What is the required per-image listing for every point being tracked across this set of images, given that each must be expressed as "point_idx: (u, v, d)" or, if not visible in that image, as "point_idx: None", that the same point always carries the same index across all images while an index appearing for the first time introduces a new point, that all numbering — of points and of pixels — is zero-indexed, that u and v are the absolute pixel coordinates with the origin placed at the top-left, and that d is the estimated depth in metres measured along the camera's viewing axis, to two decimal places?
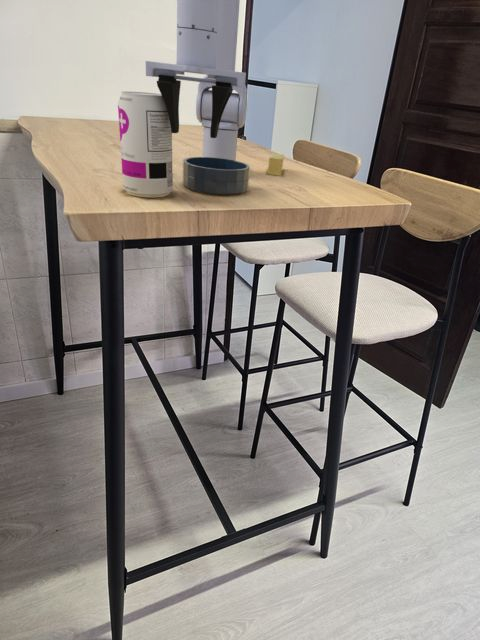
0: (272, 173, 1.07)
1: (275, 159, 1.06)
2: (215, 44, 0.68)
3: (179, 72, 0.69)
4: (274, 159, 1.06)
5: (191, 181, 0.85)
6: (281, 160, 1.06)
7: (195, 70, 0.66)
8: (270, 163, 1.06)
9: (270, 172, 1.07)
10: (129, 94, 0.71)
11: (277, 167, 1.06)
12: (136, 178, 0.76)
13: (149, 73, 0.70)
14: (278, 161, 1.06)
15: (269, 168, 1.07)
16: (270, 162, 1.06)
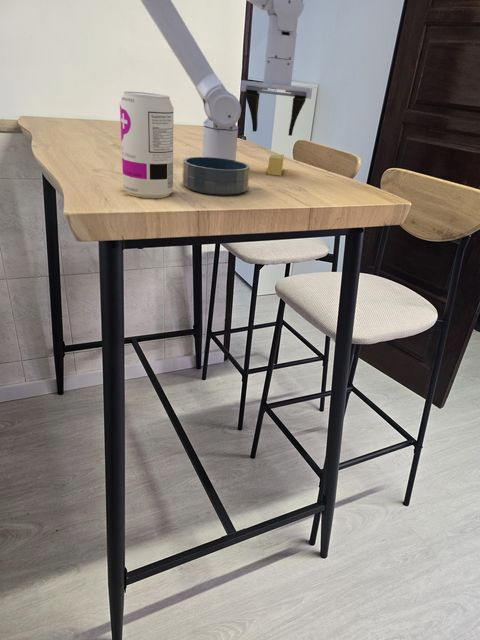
0: (272, 173, 1.07)
1: (275, 159, 1.06)
2: (292, 68, 0.95)
3: (265, 88, 0.97)
4: (274, 159, 1.06)
5: (191, 181, 0.85)
6: (281, 160, 1.06)
7: (278, 87, 0.94)
8: (270, 163, 1.06)
9: (270, 172, 1.07)
10: (131, 95, 0.71)
11: (277, 167, 1.06)
12: (136, 179, 0.76)
13: (243, 89, 0.97)
14: (278, 161, 1.06)
15: (269, 168, 1.07)
16: (270, 162, 1.06)
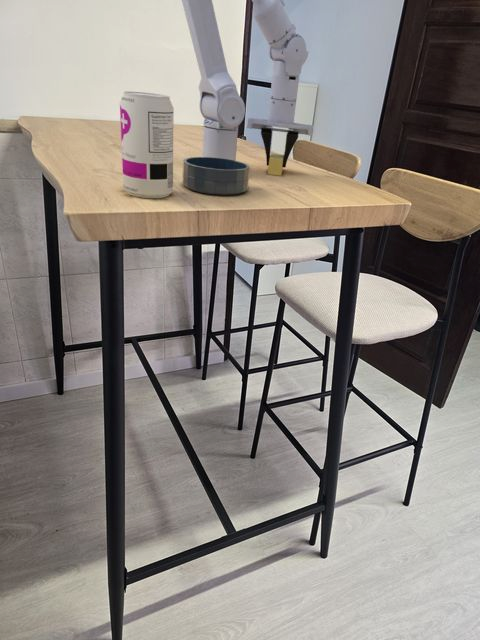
0: (272, 173, 1.07)
1: (275, 159, 1.06)
2: None
3: (270, 126, 1.04)
4: (274, 159, 1.06)
5: (191, 181, 0.85)
6: (281, 160, 1.06)
7: (283, 126, 1.02)
8: (270, 163, 1.06)
9: (270, 172, 1.07)
10: (131, 95, 0.71)
11: (277, 167, 1.06)
12: (136, 179, 0.76)
13: (249, 126, 1.04)
14: (278, 161, 1.06)
15: (269, 168, 1.07)
16: (270, 162, 1.06)
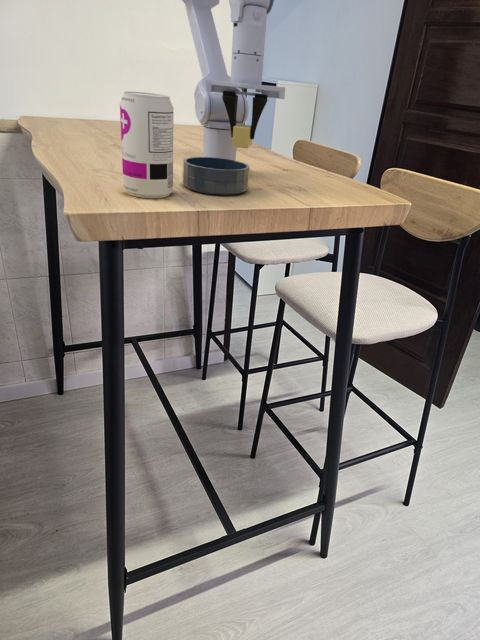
0: (237, 145, 0.89)
1: (240, 128, 0.88)
2: (262, 65, 0.85)
3: (233, 88, 0.87)
4: (239, 128, 0.88)
5: (191, 181, 0.85)
6: (248, 129, 0.88)
7: (247, 86, 0.84)
8: (235, 133, 0.88)
9: (235, 144, 0.89)
10: (131, 95, 0.71)
11: (243, 138, 0.88)
12: (136, 179, 0.76)
13: (208, 89, 0.87)
14: (244, 130, 0.88)
15: (234, 139, 0.89)
16: (235, 132, 0.88)
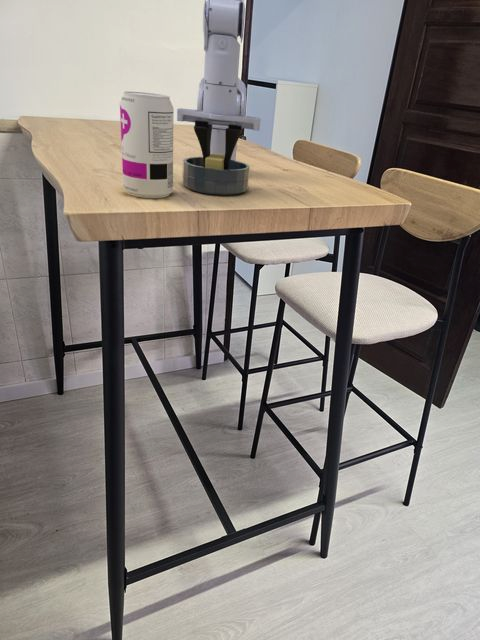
0: None
1: (213, 160, 0.84)
2: (235, 96, 0.81)
3: (205, 118, 0.83)
4: (211, 160, 0.84)
5: (191, 181, 0.85)
6: (220, 161, 0.84)
7: (219, 118, 0.80)
8: (207, 165, 0.84)
9: None
10: (131, 95, 0.71)
11: None
12: (136, 179, 0.76)
13: (180, 119, 0.83)
14: (216, 162, 0.84)
15: None
16: (207, 164, 0.84)
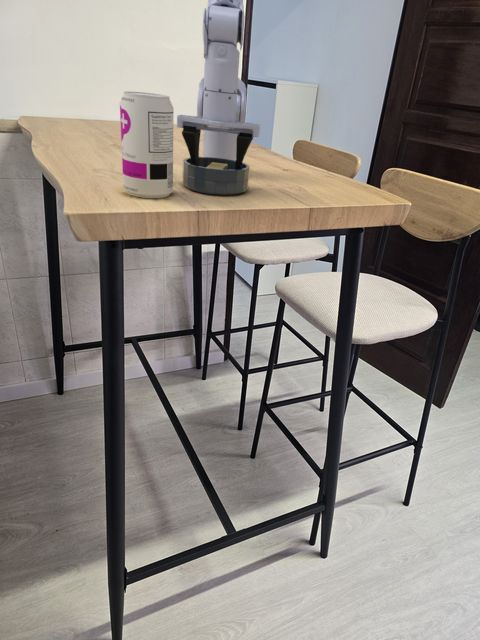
0: None
1: None
2: (235, 102, 0.82)
3: (205, 125, 0.83)
4: None
5: (191, 181, 0.85)
6: None
7: (219, 125, 0.81)
8: None
9: None
10: (131, 95, 0.71)
11: None
12: (136, 179, 0.76)
13: (180, 125, 0.84)
14: None
15: None
16: None
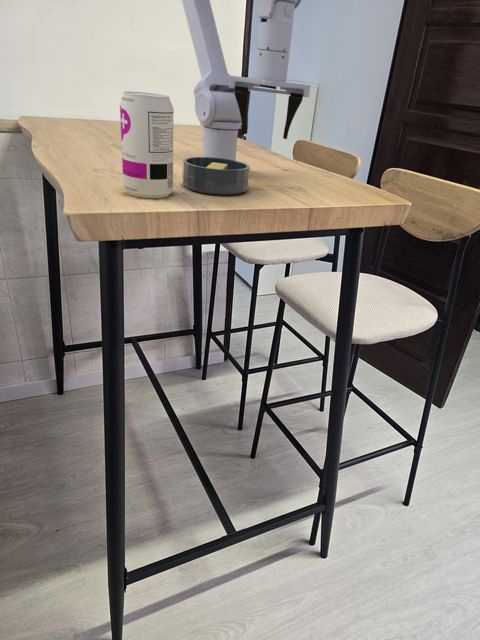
0: None
1: None
2: (287, 62, 0.83)
3: (257, 85, 0.85)
4: None
5: (191, 181, 0.85)
6: None
7: (272, 84, 0.82)
8: None
9: None
10: (131, 95, 0.71)
11: None
12: (136, 179, 0.76)
13: (232, 85, 0.85)
14: None
15: None
16: None
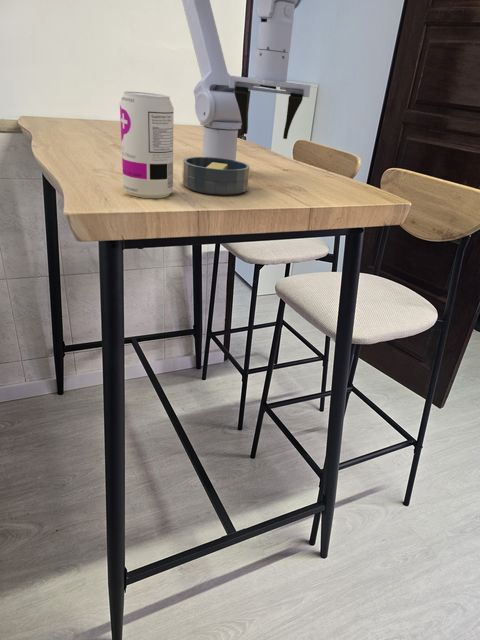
0: None
1: None
2: (287, 62, 0.83)
3: (257, 85, 0.85)
4: None
5: (191, 181, 0.85)
6: None
7: (272, 84, 0.82)
8: None
9: None
10: (131, 95, 0.71)
11: None
12: (136, 179, 0.76)
13: (232, 85, 0.85)
14: None
15: None
16: None
